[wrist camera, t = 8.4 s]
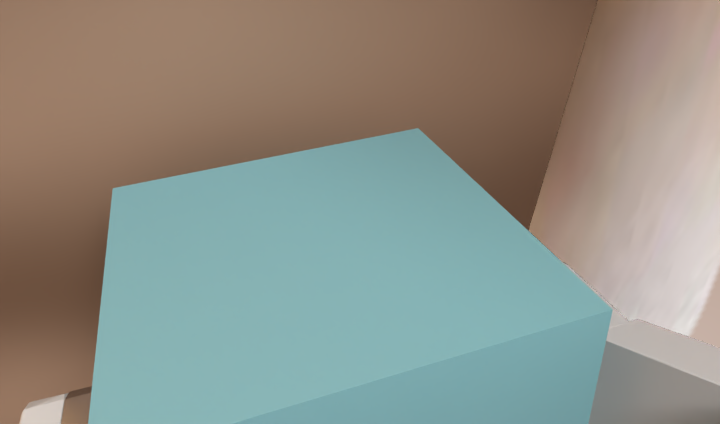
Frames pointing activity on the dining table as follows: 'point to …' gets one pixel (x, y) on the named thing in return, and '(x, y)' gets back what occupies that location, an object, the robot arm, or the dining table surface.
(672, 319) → the dining table surface
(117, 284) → the teal cube
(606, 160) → the dining table surface
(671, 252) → the dining table surface
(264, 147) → the walnut block
